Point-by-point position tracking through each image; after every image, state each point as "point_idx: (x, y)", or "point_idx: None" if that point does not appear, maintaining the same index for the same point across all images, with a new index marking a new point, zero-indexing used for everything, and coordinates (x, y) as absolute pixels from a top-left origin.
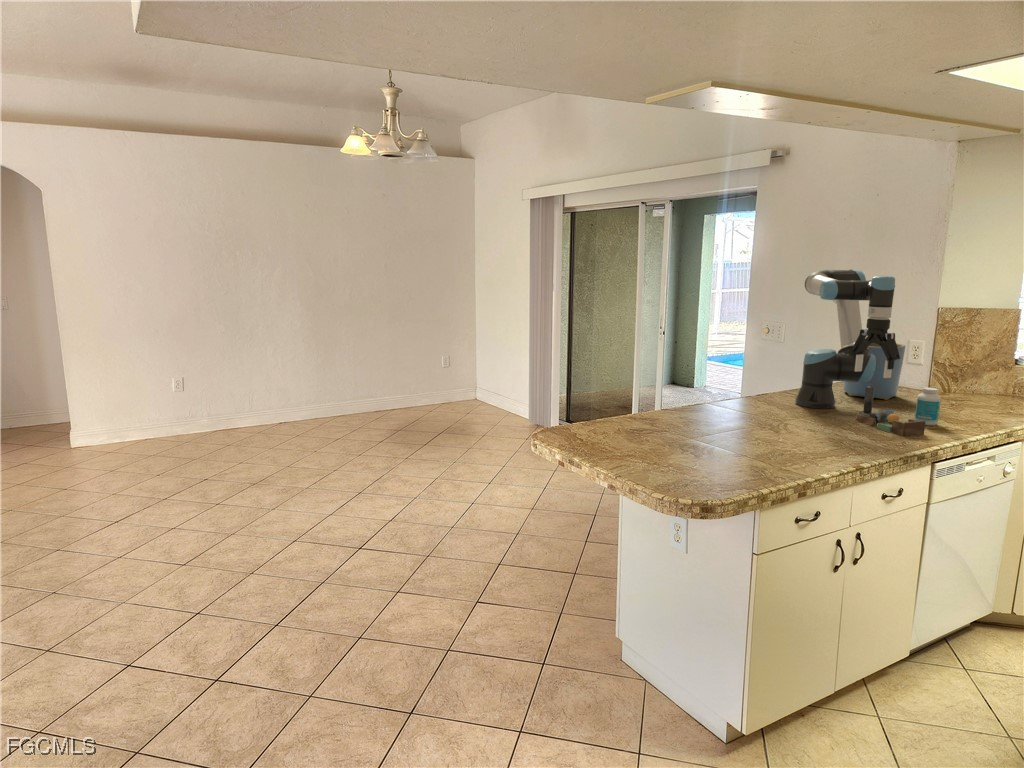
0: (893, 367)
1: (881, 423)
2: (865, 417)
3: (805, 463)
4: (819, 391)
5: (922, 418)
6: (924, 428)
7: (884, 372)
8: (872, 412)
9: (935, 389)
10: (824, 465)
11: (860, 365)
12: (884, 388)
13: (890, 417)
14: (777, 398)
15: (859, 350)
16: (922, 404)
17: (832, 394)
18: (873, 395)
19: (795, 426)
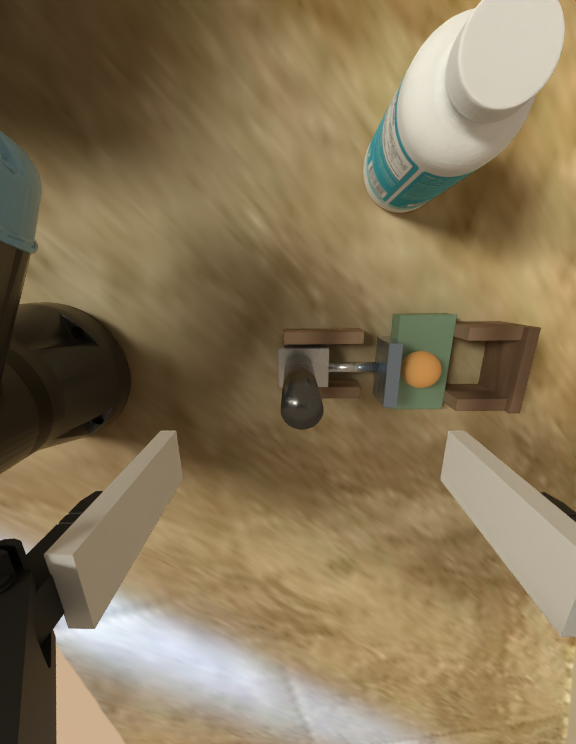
0: (567, 506)
1: (400, 401)
2: (325, 397)
3: (512, 690)
4: (68, 423)
5: (425, 203)
6: (517, 324)
7: (469, 510)
8: (303, 348)
9: (549, 25)
10: (536, 674)
11: (155, 478)
12: None
13: (424, 387)
14: None
15: (54, 723)
16: (450, 183)
17: (69, 352)
18: (317, 385)
19: (299, 576)
